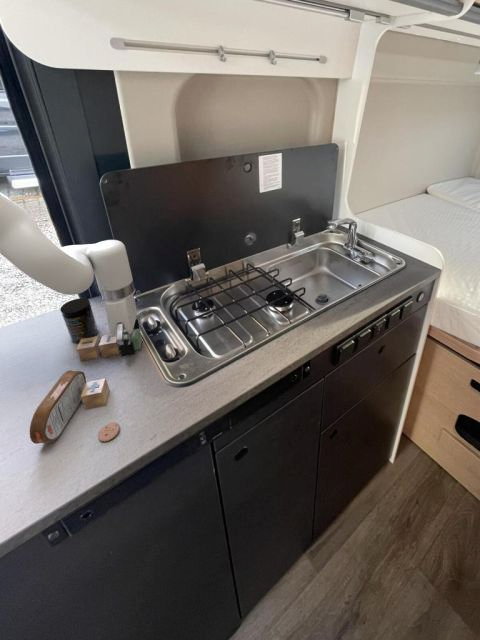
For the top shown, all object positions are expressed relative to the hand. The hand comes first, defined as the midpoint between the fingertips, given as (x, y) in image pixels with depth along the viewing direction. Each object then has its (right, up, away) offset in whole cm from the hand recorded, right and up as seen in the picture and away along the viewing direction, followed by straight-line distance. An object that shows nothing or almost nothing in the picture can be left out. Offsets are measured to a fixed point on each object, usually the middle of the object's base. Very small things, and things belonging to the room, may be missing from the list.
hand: (131, 342), depth 88 cm
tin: (-4, -10, -19) cm, 22 cm away
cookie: (+7, -12, -22) cm, 25 cm away
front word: (0, -8, -15) cm, 17 cm away
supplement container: (-15, 0, +4) cm, 16 cm away
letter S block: (0, -1, +1) cm, 1 cm away
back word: (-5, -2, -1) cm, 5 cm away
